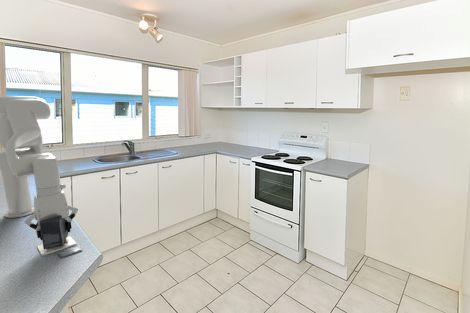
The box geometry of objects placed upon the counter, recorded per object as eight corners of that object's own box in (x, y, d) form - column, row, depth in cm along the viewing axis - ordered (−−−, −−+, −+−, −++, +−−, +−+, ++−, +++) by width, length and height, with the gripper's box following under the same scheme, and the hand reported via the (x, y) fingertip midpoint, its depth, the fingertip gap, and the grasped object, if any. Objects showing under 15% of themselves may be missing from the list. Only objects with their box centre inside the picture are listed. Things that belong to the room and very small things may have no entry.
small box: (49, 236, 107) (46, 211, 105) (68, 233, 110) (65, 208, 108) (42, 249, 98) (38, 222, 96) (63, 246, 100) (60, 219, 98)
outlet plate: (37, 247, 103) (37, 245, 103) (70, 237, 110) (70, 236, 110) (41, 255, 97) (41, 254, 97) (76, 244, 105) (76, 243, 105)
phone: (57, 256, 98) (57, 253, 97) (79, 249, 103) (78, 246, 102) (60, 260, 95) (60, 257, 95) (82, 252, 100) (82, 249, 100)
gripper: (73, 183, 108) (78, 224, 112) (17, 193, 96) (24, 239, 100) (78, 187, 103) (83, 230, 106) (20, 198, 91) (28, 247, 94)
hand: (55, 234), depth 103 cm, fingers closed on small box, 8 cm apart
